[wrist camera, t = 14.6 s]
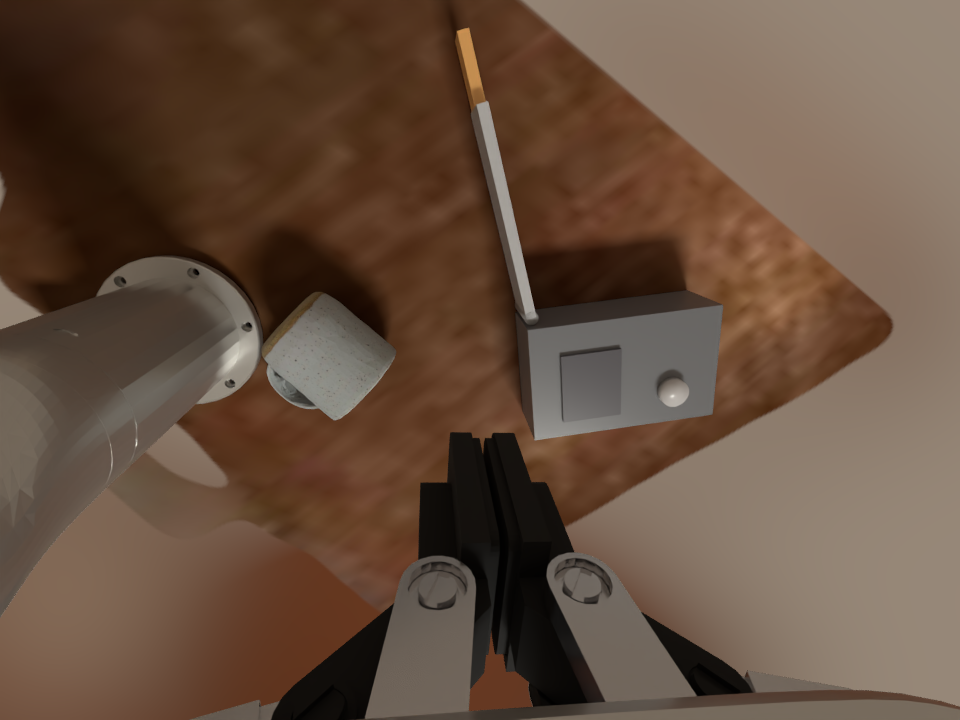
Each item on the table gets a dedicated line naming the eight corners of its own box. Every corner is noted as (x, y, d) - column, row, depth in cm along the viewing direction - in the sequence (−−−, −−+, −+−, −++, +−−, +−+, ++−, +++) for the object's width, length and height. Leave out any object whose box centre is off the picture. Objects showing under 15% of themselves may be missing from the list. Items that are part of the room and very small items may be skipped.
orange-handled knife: (528, 308, 41) (539, 323, 36) (516, 312, 41) (526, 326, 36) (466, 42, 33) (472, 21, 29) (452, 46, 33) (455, 26, 29)
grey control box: (522, 410, 45) (536, 445, 39) (515, 312, 41) (529, 333, 35) (686, 387, 46) (724, 417, 40) (693, 289, 42) (736, 306, 36)
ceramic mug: (326, 275, 38) (301, 298, 31) (401, 338, 41) (394, 373, 34) (250, 363, 40) (210, 403, 33) (326, 417, 43) (305, 465, 36)
